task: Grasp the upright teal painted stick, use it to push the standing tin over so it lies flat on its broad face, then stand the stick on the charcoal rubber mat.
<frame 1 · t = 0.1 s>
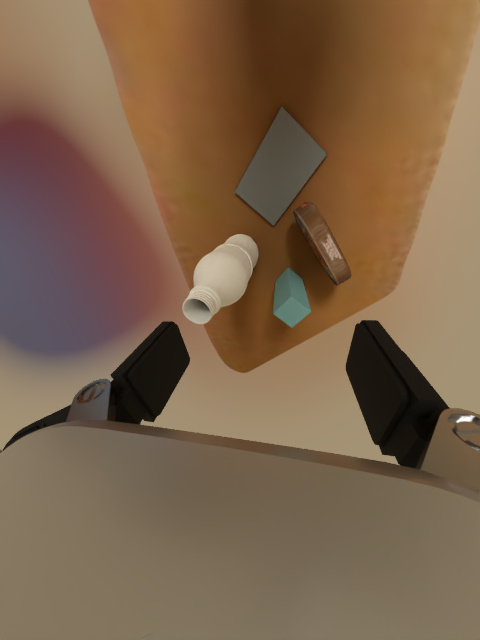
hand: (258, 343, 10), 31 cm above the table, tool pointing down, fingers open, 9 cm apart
tin: (318, 241, 34), on the table
stick: (288, 279, 39), on the table
mat: (277, 174, 30), on the table
water bottle: (242, 250, 38), on the table
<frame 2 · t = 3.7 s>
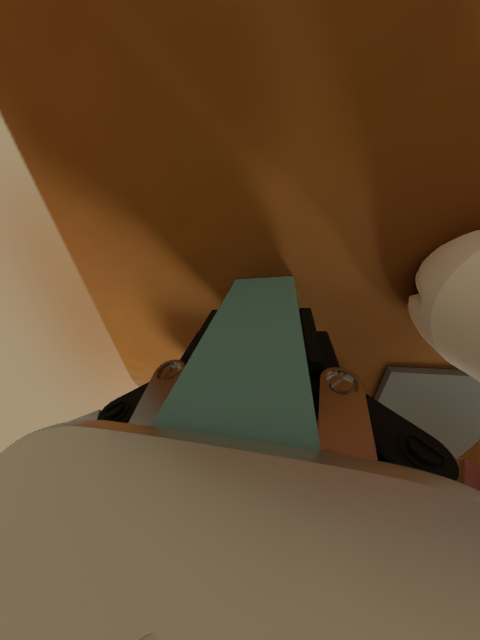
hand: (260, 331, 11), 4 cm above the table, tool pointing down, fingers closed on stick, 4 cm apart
stick: (265, 303, 14), on the table, touching gripper
mat: (424, 414, 17), on the table
water bottle: (463, 275, 10), on the table
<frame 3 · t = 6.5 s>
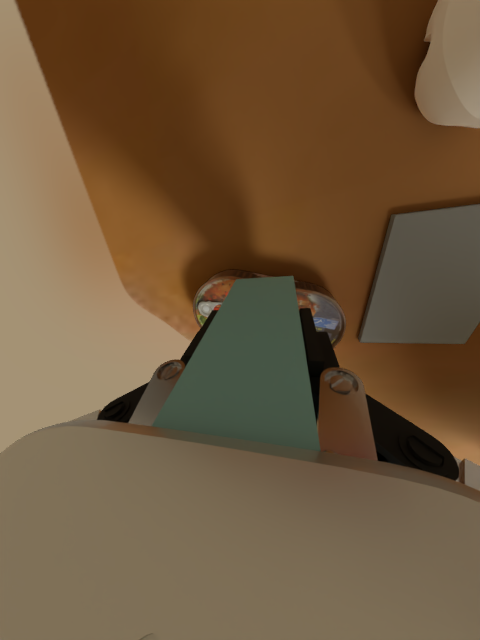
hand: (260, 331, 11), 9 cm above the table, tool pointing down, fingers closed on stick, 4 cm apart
tin: (275, 276, 17), point 1 cm above the table
stick: (265, 302, 14), point 5 cm above the table, touching gripper
mat: (430, 285, 16), on the table
water bottle: (476, 49, 10), on the table
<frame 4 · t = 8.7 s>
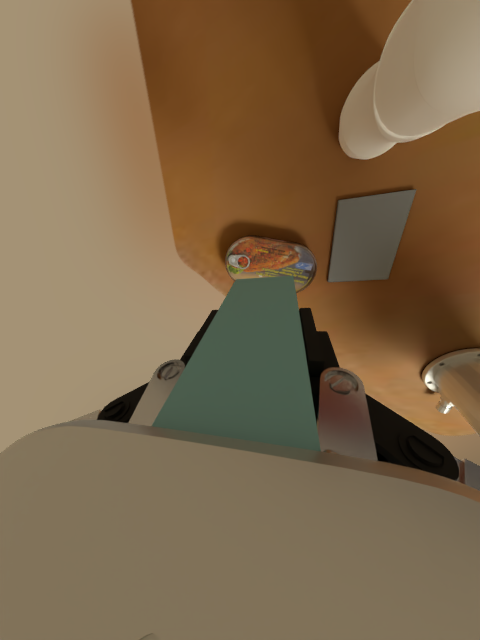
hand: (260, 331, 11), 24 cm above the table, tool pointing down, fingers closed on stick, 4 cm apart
tin: (275, 237, 29), point 1 cm above the table
stick: (265, 302, 14), point 20 cm above the table, touching gripper
mat: (363, 242, 28), on the table
water bottle: (365, 123, 21), on the table
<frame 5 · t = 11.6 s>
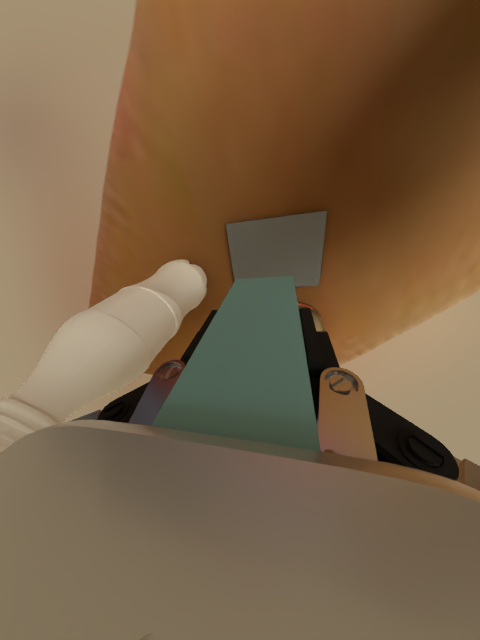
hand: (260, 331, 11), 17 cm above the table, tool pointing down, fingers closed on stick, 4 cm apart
stick: (265, 302, 14), point 14 cm above the table, touching gripper
mat: (274, 255, 25), on the table
water bottle: (191, 277, 29), on the table
when the fingers open (6 cm above the table, at t = 14.0 s): stick drops 1 cm, resting on mat.
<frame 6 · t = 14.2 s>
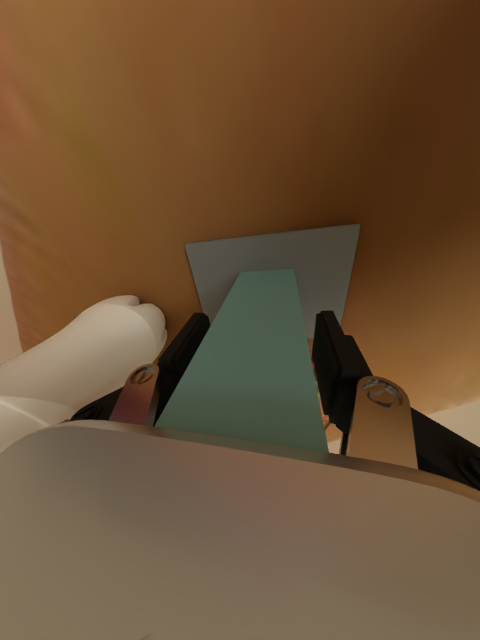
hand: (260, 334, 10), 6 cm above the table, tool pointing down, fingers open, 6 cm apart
stick: (267, 294, 15), point 1 cm above the table, touching mat
mat: (266, 292, 15), on the table
water bottle: (145, 317, 20), on the table
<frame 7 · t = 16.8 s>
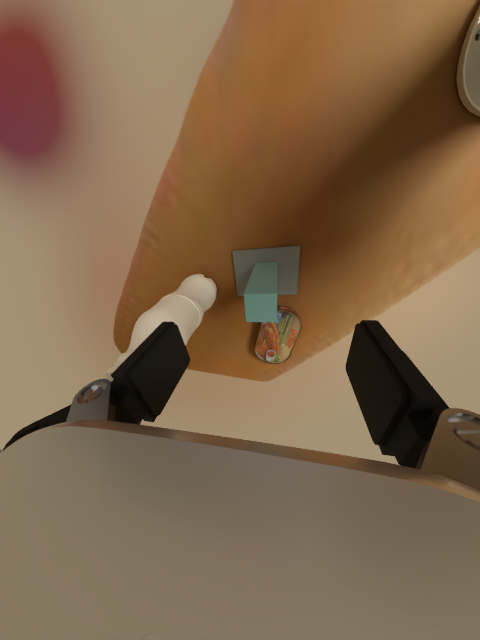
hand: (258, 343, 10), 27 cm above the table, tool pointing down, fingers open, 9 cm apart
tin: (257, 331, 41), point 1 cm above the table
stick: (266, 273, 34), point 1 cm above the table, touching mat
mat: (265, 272, 35), on the table
water bottle: (203, 286, 39), on the table
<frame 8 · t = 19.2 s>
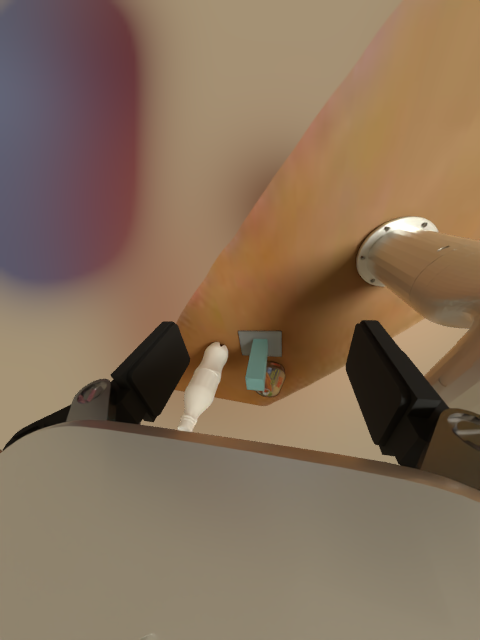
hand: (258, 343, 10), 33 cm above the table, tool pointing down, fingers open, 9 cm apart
tin: (256, 376, 60), point 1 cm above the table
stick: (260, 344, 52), point 1 cm above the table, touching mat
mat: (260, 343, 53), on the table
water bottle: (219, 347, 58), on the table
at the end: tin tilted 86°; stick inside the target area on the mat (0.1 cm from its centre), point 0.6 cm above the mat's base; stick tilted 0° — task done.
